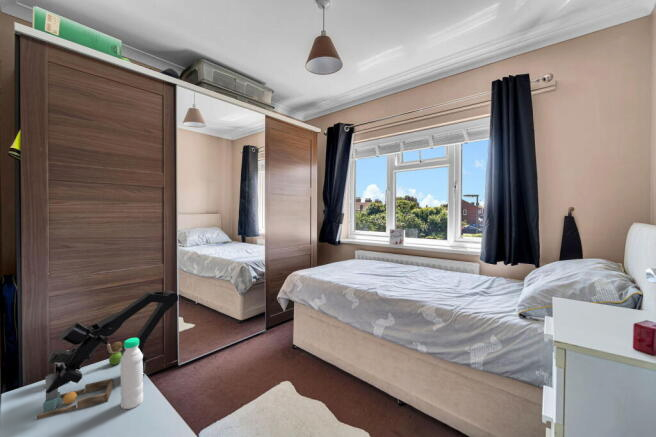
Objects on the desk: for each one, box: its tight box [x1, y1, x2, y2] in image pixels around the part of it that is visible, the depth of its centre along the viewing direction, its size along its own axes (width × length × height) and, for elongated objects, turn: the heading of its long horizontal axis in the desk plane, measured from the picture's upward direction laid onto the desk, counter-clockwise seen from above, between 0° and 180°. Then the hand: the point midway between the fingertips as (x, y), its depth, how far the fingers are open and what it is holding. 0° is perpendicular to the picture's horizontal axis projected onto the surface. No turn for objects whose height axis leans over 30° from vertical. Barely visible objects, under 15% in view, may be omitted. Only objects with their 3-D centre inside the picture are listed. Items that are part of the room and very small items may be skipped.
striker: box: [42, 372, 62, 413], centre depth 103 cm, size 3×6×12 cm, turn 29°
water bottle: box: [119, 337, 144, 410], centre depth 106 cm, size 7×7×25 cm
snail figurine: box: [106, 341, 123, 366], centre depth 131 cm, size 5×6×12 cm
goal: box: [35, 378, 115, 420], centre depth 107 cm, size 20×11×3 cm, turn 118°
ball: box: [62, 391, 78, 405], centre depth 106 cm, size 4×4×4 cm
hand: (46, 390), depth 102 cm, fingers closed on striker, 3 cm apart
